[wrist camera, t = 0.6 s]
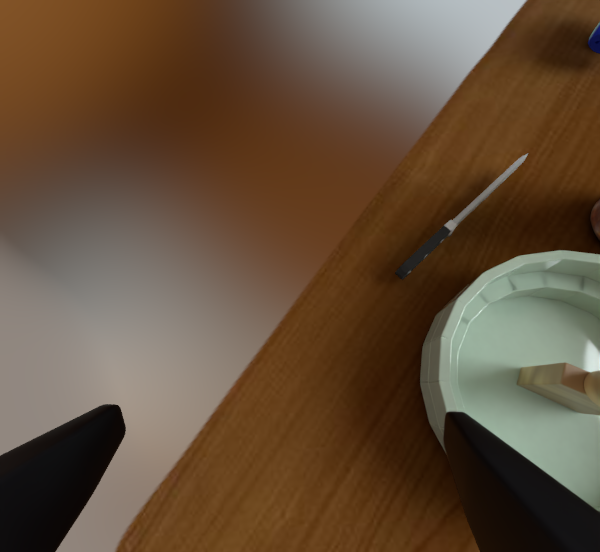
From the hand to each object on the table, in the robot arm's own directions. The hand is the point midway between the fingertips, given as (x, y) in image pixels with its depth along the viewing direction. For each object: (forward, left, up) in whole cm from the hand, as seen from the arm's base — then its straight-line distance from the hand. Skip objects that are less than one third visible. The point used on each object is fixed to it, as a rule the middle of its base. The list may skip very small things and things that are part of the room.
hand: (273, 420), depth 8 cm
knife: (+2, -18, -13) cm, 22 cm away
